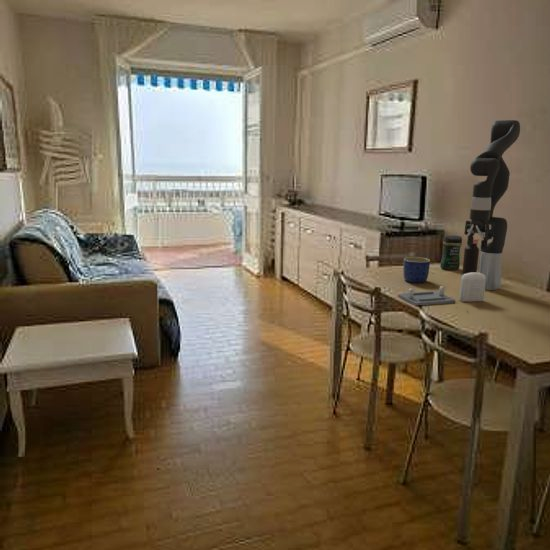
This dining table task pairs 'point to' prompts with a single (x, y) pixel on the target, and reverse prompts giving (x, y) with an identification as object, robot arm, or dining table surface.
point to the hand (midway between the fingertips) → (476, 247)
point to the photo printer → (472, 287)
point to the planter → (416, 269)
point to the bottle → (471, 258)
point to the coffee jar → (451, 252)
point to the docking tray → (426, 297)
